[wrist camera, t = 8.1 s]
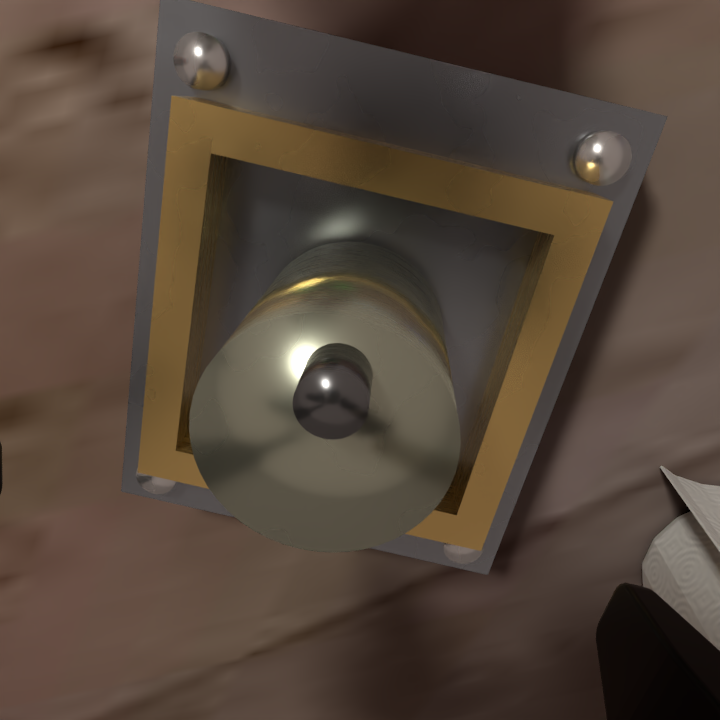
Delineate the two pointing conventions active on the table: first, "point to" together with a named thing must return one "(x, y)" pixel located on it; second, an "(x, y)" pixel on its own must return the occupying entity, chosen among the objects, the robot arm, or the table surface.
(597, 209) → the grey gold-framed plate fixture
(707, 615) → the paper towel roll
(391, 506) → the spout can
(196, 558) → the table surface
